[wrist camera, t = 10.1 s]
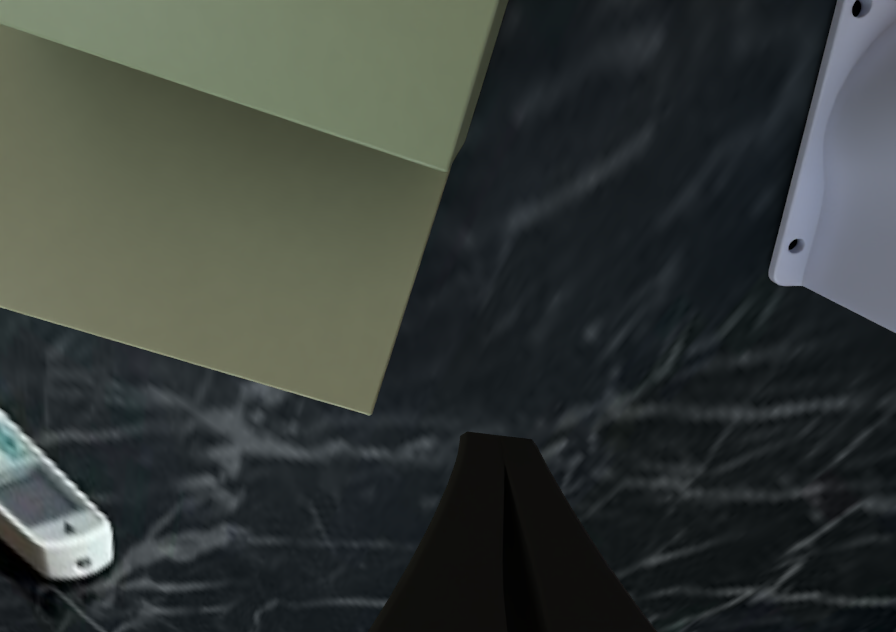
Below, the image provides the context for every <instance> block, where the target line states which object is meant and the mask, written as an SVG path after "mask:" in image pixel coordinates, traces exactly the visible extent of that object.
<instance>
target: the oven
mask: <svg viewBox="0 0 896 632" xmlns="http://www.w3.org/2000/svg"><path fill="white" fill-rule="evenodd" d="M507 3H508V0H0V24H2V25H5V26H8V27H11V28H14V29H17V30H20V31H23V32H26V33H29V34H32V35H35V36H38V37H41V38H44V39H47V40H50V41H53V42H56V43H59V44H62V45H65V46H68V47H71V48H74V49H77V50H80V51H83V52H86V53H89V54H92V55H95V56H98V57H100V58H103V59H106V60H109V61H112V62H115V63H118V64H121V65H124V66H127V67H130V68H133V69H136V70H139V71H142V72H145V73H148V74H151V75H154V76H157V77H160V78H163V79H166V80H169V81H172V82H175V83H178V84H181V85H184V86H187V87H190V88H193V89H196V90H199V91H202V92H205V93H208V94H211V95H214V96H217V97H220V98H223V99H226V100H229V101H232V102H235V103H238V104H241V105H244V106H247V107H250V108H253V109H256V110H259V111H262V112H265V113H268V114H271V115H274V116H277V117H280V118H283V119H286V120H288V121H291V122H294V123H297V124H300V125H303V126H306V127H309V128H312V129H315V130H318V131H321V132H324V133H327V134H330V135H333V136H336V137H339V138H342V139H345V140H348V141H351V142H354V143H357V144H360V145H363V146H366V147H369V148H372V149H375V150H378V151H381V152H384V153H387V154H390V155H393V156H396V157H399V158H402V159H405V160H408V161H411V162H414V163H417V164H420V165H423V166H426V167H429V168H432V169H435V170H438V171H441V172H447V171H448V170H449V169H450V167H451V164H452V163H453V161H454V159H455V158H456V156H457V154H458V152H459V151H460V149H461V147H462V146H463V144H464V142H465V140H466V137H467V133H468V130H469V127H470V123H471V120H472V117H473V114H474V110H475V107H476V104H477V101H478V97H479V94H480V91H481V88H482V84H483V81H484V78H485V75H486V71H487V68H488V65H489V62H490V58H491V55H492V52H493V49H494V45H495V42H496V39H497V36H498V32H499V29H500V26H501V23H502V19H503V16H504V13H505V10H506V6H507Z"/></svg>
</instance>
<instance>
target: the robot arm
mask: <svg viewBox="0 0 896 632" xmlns="http://www.w3.org/2000/svg"><path fill="white" fill-rule="evenodd" d="M855 1H856V0H837V3H836V7H835V11H834V15H833V19H832V23H831V27H830V31H829V35H828V39H827V43H826V47H825V51H824V54H823V58H822V62H821V66H820V70H819V74H818V78H817V82H816V86H815V90H814V94H813V98H812V102H811V106H810V110H809V114H808V117H807V121H806V125H805V129H804V133H803V137H802V141H801V145H800V149H799V153H798V157H797V161H796V165H795V169H794V173H793V177H792V181H791V184H790V188H789V192H788V196H787V200H786V204H785V208H784V212H783V216H782V220H781V224H780V228H779V232H778V236H777V240H776V244H775V247H774V251H773V255H772V259H771V263H770V267H769V273H768V276H769V278H770V280H771V281H773V282H774V283H776V284H778V285H781V286H804V287H806V288H808V289H810V290H812V291H814V292H816V293H818V294H820V295H822V296H824V297H826V298H828V299H830V300H832V301H834V302H836V303H838V304H840V305H842V306H844V307H845V308H847V309H849V310H851V311H853V312H855V313H857V314H859V315H861V316H863V317H865V318H867V319H869V320H871V321H873V322H875V323H877V324H879V325H881V326H883V327H885V328H887V329H889V330H891V331H893V332H895V333H896V0H859V1H860V3H861V11H860V13H859V15H858V16H857V17H854V16H853V14H852V7H853V5H854V3H855ZM795 239H797V244H796V246H795V247H794V248H793V249H791V250H788V246H789V244H790V243H791V242H792V241H793V240H795ZM368 632H657V631H656V630H655V629H654V627H653V626H652V625H651V623H650V622H649V621H648V619H647V618H646V617H645V615H644V614H643V613H642V611H641V610H640V609H639V607H638V606H637V605H636V603H635V602H634V601H633V599H632V598H631V596H630V595H629V594H628V592H627V591H626V589H625V588H624V587H623V585H622V584H621V582H620V581H619V579H618V578H617V577H616V575H615V574H614V572H613V571H612V570H611V568H610V567H609V565H608V564H607V562H606V561H605V559H604V558H603V556H602V555H601V553H600V552H599V550H598V549H597V547H596V546H595V544H594V543H593V541H592V540H591V538H590V537H589V535H588V533H587V532H586V530H585V529H584V527H583V526H582V524H581V522H580V521H579V519H578V518H577V516H576V515H575V513H574V511H573V510H572V508H571V506H570V505H569V503H568V501H567V500H566V498H565V496H564V495H563V493H562V491H561V489H560V488H559V486H558V484H557V483H556V481H555V479H554V477H553V476H552V474H551V472H550V470H549V468H548V467H547V465H546V463H545V461H544V459H543V457H542V455H541V453H540V452H539V450H538V448H537V446H536V444H535V443H534V442H533V441H532V439H524V438H516V437H507V436H499V435H490V434H482V433H473V432H466V433H464V434H463V435H461V436H460V443H459V450H458V455H457V459H456V462H455V465H454V468H453V471H452V474H451V477H450V479H449V482H448V485H447V487H446V490H445V492H444V494H443V496H442V499H441V501H440V503H439V506H438V508H437V510H436V512H435V515H434V517H433V519H432V521H431V523H430V525H429V527H428V529H427V531H426V533H425V535H424V537H423V538H422V540H421V542H420V544H419V546H418V548H417V550H416V552H415V554H414V556H413V557H412V559H411V561H410V563H409V565H408V567H407V569H406V570H405V572H404V574H403V576H402V577H401V579H400V581H399V582H398V584H397V586H396V588H395V589H394V591H393V593H392V594H391V596H390V598H389V599H388V601H387V602H386V604H385V606H384V607H383V609H382V610H381V612H380V614H379V615H378V617H377V618H376V620H375V622H374V623H373V625H372V626H371V628H370V630H369V631H368Z"/></svg>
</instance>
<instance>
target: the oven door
mask: <svg viewBox="0 0 896 632" xmlns="http://www.w3.org/2000/svg"><path fill="white" fill-rule="evenodd" d="M450 168H451V167H450ZM449 172H450V169H449V170H448V171H447V172H441V171H438V170H435V169H432V168H429V167H426V166H423V165H420V164H417V163H414V162H411V161H408V160H405V159H402V158H399V157H396V156H393V155H390V154H387V153H384V152H381V151H378V150H375V149H372V148H369V147H366V146H363V145H360V144H357V143H354V142H351V141H348V140H345V139H342V138H339V137H336V136H333V135H330V134H327V133H324V132H321V131H318V130H315V129H312V128H309V127H306V126H303V125H300V124H297V123H294V122H291V121H288V120H286V119H283V118H280V117H277V116H274V115H271V114H268V113H265V112H262V111H259V110H256V109H253V108H250V107H247V106H244V105H241V104H238V103H235V102H232V101H229V100H226V99H223V98H220V97H217V96H214V95H211V94H208V93H205V92H202V91H199V90H196V89H193V88H190V87H187V86H184V85H181V84H178V83H175V82H172V81H169V80H166V79H163V78H160V77H157V76H154V75H151V74H148V73H145V72H142V71H139V70H136V69H133V68H130V67H127V66H124V65H121V64H118V63H115V62H112V61H109V60H106V59H103V58H100V57H98V56H95V55H92V54H89V53H86V52H83V51H80V50H77V49H74V48H71V47H68V46H65V45H62V44H59V43H56V42H53V41H50V40H47V39H44V38H41V37H38V36H35V35H32V34H29V33H26V32H23V31H20V30H17V29H14V28H11V27H8V26H5V25H2V24H0V307H1V308H5V309H8V310H11V311H15V312H18V313H22V314H25V315H28V316H32V317H35V318H39V319H42V320H46V321H49V322H52V323H56V324H59V325H63V326H66V327H69V328H73V329H76V330H80V331H83V332H87V333H90V334H93V335H97V336H100V337H104V338H107V339H110V340H114V341H117V342H121V343H124V344H128V345H131V346H134V347H138V348H141V349H145V350H148V351H151V352H155V353H158V354H162V355H165V356H168V357H172V358H175V359H179V360H182V361H186V362H189V363H192V364H196V365H199V366H203V367H206V368H209V369H213V370H216V371H220V372H223V373H227V374H230V375H233V376H237V377H240V378H244V379H247V380H250V381H254V382H257V383H261V384H264V385H268V386H271V387H274V388H278V389H281V390H285V391H288V392H291V393H295V394H298V395H302V396H305V397H308V398H312V399H315V400H319V401H322V402H326V403H329V404H332V405H336V406H339V407H343V408H346V409H349V410H353V411H356V412H360V413H363V414H367V415H371V414H372V412H373V409H374V406H375V403H376V400H377V397H378V394H379V390H380V387H381V384H382V381H383V378H384V375H385V372H386V369H387V365H388V362H389V359H390V356H391V353H392V350H393V347H394V344H395V340H396V337H397V334H398V331H399V328H400V325H401V322H402V319H403V315H404V312H405V309H406V306H407V303H408V300H409V297H410V294H411V290H412V287H413V284H414V281H415V278H416V275H417V272H418V269H419V265H420V262H421V259H422V256H423V253H424V250H425V247H426V244H427V240H428V237H429V234H430V231H431V228H432V225H433V222H434V219H435V216H436V212H437V209H438V206H439V203H440V200H441V197H442V194H443V191H444V187H445V184H446V181H447V178H448V175H449Z"/></svg>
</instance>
